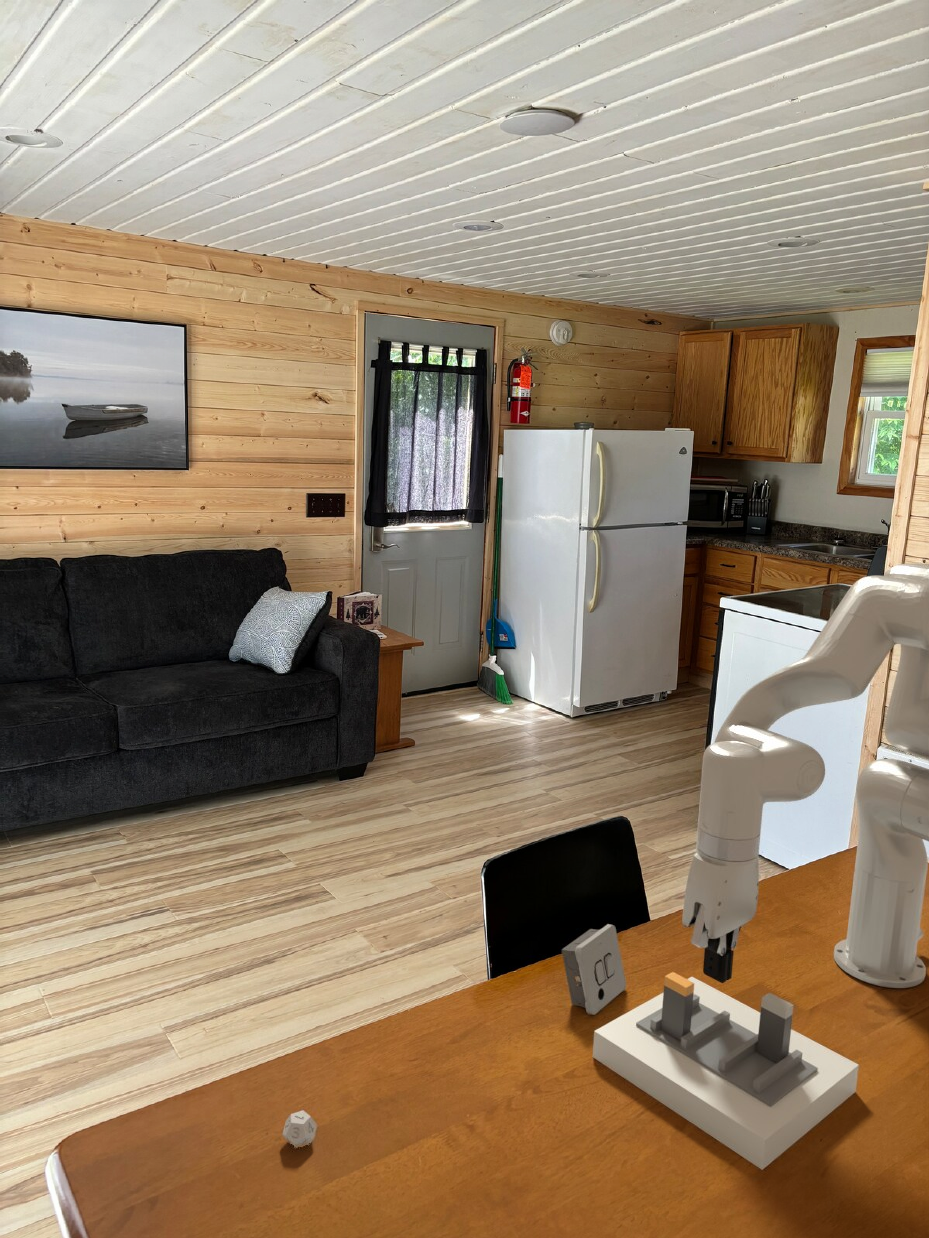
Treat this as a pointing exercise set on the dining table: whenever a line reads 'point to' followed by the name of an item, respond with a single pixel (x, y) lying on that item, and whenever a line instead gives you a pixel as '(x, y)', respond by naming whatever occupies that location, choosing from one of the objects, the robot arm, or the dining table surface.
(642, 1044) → the lever base
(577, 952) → the electrical switch
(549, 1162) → the dining table surface
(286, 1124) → the game die
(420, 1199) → the dining table surface
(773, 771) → the robot arm
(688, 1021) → the toggle
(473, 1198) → the dining table surface
